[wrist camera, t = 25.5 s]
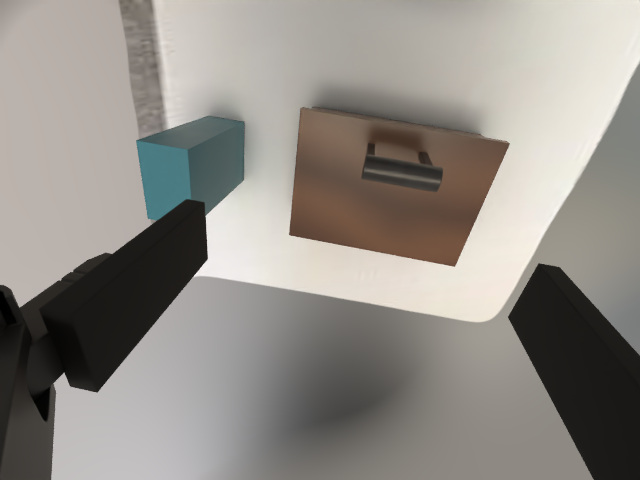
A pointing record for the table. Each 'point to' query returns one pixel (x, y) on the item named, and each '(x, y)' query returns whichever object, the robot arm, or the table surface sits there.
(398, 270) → the table surface
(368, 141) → the lid
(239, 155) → the block
